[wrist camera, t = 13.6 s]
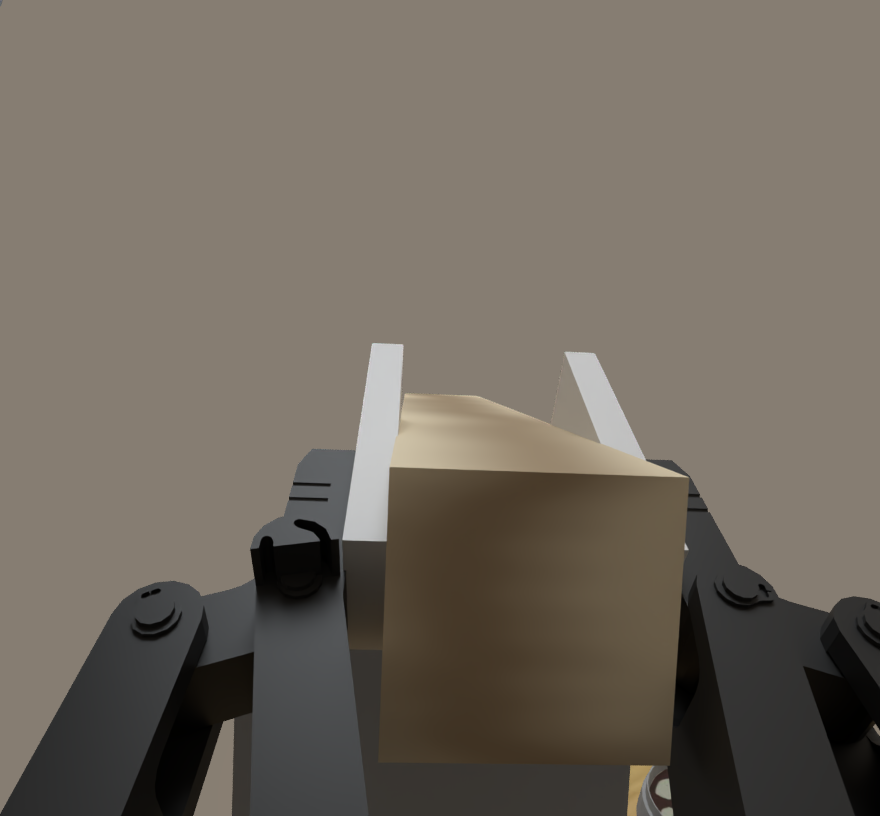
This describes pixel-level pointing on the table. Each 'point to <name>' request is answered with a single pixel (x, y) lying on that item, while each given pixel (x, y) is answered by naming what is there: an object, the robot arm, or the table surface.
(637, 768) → the table surface
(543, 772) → the cabinet
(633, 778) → the table surface
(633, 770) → the table surface
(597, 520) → the switch bar
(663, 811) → the food container
